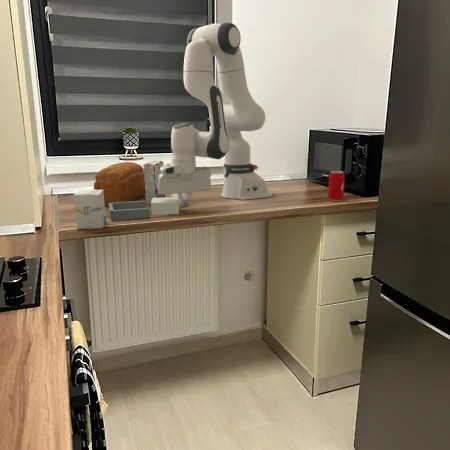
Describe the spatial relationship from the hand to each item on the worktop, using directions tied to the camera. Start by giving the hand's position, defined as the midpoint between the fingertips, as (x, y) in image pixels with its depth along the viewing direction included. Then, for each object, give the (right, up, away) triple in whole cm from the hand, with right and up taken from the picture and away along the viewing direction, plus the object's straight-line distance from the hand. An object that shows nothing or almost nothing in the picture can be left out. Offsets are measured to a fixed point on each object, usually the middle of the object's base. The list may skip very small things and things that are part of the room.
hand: (185, 203), depth 171 cm
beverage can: (+61, +2, +16) cm, 63 cm away
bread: (-29, +2, +20) cm, 35 cm away
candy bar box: (-14, +2, +17) cm, 22 cm away
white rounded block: (-3, 0, +10) cm, 11 cm away
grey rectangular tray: (-20, -4, -5) cm, 21 cm away
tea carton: (-7, -3, -1) cm, 8 cm away
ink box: (-30, -8, -19) cm, 36 cm away
